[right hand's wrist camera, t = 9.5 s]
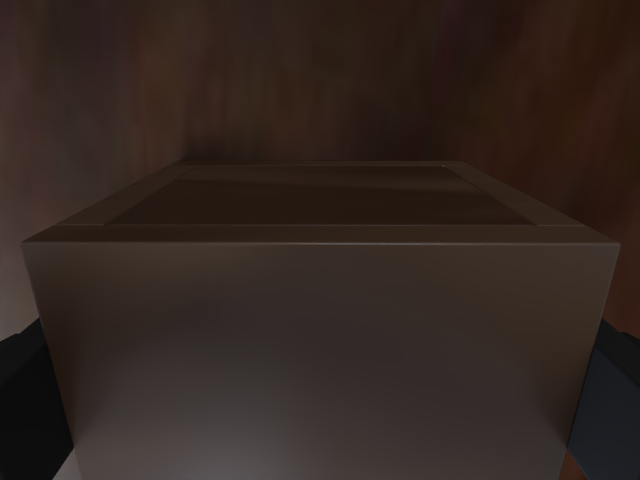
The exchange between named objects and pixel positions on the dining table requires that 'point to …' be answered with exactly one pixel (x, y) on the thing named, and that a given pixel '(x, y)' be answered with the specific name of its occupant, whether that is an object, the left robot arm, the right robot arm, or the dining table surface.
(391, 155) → the dining table surface
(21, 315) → the dining table surface
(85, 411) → the cabinet
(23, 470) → the right robot arm
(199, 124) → the dining table surface
